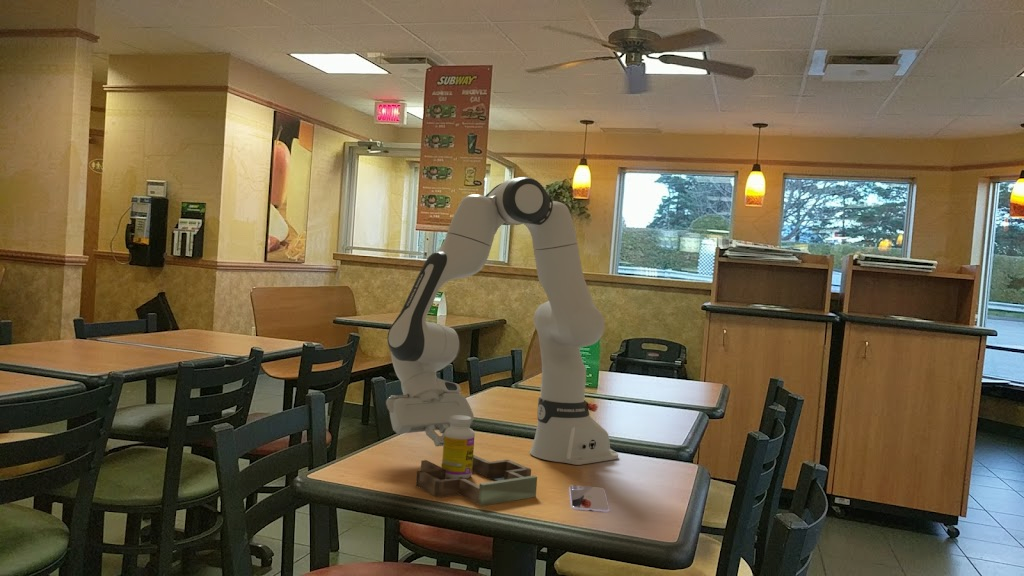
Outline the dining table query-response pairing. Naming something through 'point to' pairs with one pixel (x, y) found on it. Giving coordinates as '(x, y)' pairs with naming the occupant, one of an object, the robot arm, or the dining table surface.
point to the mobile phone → (588, 498)
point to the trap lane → (506, 487)
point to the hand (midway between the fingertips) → (442, 444)
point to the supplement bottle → (458, 447)
